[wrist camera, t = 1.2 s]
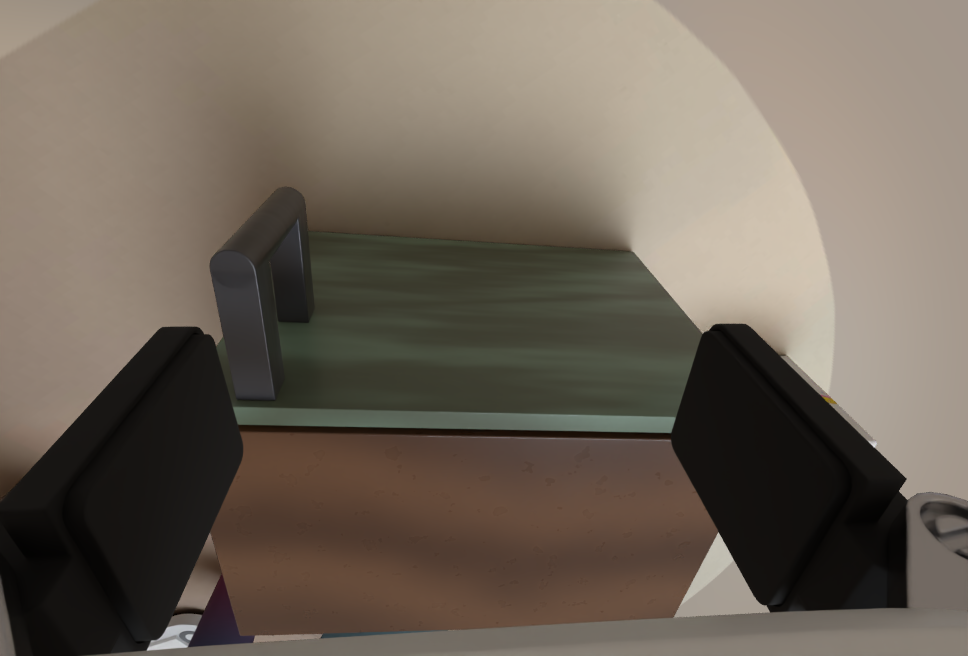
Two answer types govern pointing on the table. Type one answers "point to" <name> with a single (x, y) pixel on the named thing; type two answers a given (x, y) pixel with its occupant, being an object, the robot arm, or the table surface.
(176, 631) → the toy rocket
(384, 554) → the cupboard
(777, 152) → the table surface
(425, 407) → the cupboard door
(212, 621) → the cup
